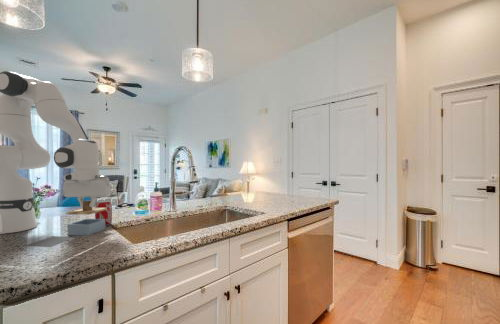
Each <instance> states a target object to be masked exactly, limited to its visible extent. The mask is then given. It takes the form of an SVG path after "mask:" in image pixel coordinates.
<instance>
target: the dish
mask: <svg viewBox="0 0 500 324" xmlns="http://www.w3.org/2000/svg"><path fill="white" fill-rule="evenodd" d="M104 230H106V226H105V219H95V218H85V219H81V220H77V221H74V222H72V223H71V222H70V223H67V236H91V235H94V234H96V233H98V232H99V233H100V232H101V231H104Z"/></svg>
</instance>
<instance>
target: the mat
mask: <svg viewBox="0 0 500 324" xmlns="http://www.w3.org/2000/svg"><path fill="white" fill-rule="evenodd" d="M75 238H77V236H60V235H59V236H54V235H52V236H49V237H45V238H44V239H40V240H37V241H34V242H31V243H28V244H26V245H24V247H42V248H43V247H44V248H45V247H47V248H53V247H54V246H57V245H60V244H63V243H64V242H67V241H70V240H73V239H75Z"/></svg>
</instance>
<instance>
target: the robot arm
mask: <svg viewBox="0 0 500 324" xmlns="http://www.w3.org/2000/svg"><path fill="white" fill-rule="evenodd" d="M0 93H1V94H0V135H1V136H4V138H7V139H9V140H11V142H13V144H14V145H4V144H3V145H0V235H3V234H11V233H18V232H23V231H28V230H32V229H35V228H37V227H38V224H39V222H38V221H37V218H36V210H35V208H34V205H35V199H34V197H33V196H34V195H33V182H32V180H30V179H29V178H27V177H24V176H21V175H20V174H19V172H18V170H35V169H41V168H45V167H47V166H48V165H49V163H50V162H51V154H50V152H49V151H48V150H47V149H45V148H44V147H43V146H41V145H40V144H39V142H38V141H37V140H36V138H35V137H34V134H33V128H32V127H33V126H32V113H31V110H32V109H31V108H32V106H34V107H35V110H36V113H37V115H38V116H39V117H40V119H41V120H42V121H43V122H44V123H46V124H48V125H50V126H53V127H54V128H57V129H60V130H61V131H64V132H65V133H67V134H68V136H70V139H72V141H73V143H71V144H68V145H65V146H63V147H59V148H57V149H56V151H55V152H54V154H53V161H54V163H55V165H56V167H59V168H60V169H74V171H73V172H70V173H67V174H65V175H63V180H64V181H63V185H62V195H63V196H64V197H65V198H77V201H78V202H79V204H80V206H79V207H80V208H83V201H85V200H84V199H85V198H90V200H91V202H90V203H88V205H89V206H88V207H92V208H95V205H96V202H97V201H98V200H97V199H98V198H105V197H106V198H107V197H110V195H112V189H111V184H110V178H109V177H108V176H107V175H100V166H99V161H100V154H99V153H100V152H99V145H98V143H97V142H96V141H95V140H92V139H89V138H88V136H87V133H86V131H85V130H84V129H83V127H82V124H81V123H80V122H79V120H77V119H76V117H74V115H73V114H72V112H71V111H70V109H69V107H68V105H67V103H66V101H65V98H64V96H63V94H62V92H61V91H60V89H59V88H58V86H57V85H56V84H55V83H52V82H50V81H42V80H40V79H37V78H35V77H32V76H27V75H23V74H19V73H18V72H13V71H8V70H6V71H5V70H4V71H1V72H0Z"/></svg>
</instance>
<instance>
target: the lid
mask: <svg viewBox="0 0 500 324" xmlns="http://www.w3.org/2000/svg"><path fill="white" fill-rule="evenodd" d="M91 200H92V199H90V200H84V201H83V207H81V208H79V209H75V210H71V211H66V212H65V213H66V214H65V215H86V216H87V215H93V214H95V213H96V212H100V211H103V210H107V208H95V207H88V206H89V205H88V203H90V202H91Z"/></svg>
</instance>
